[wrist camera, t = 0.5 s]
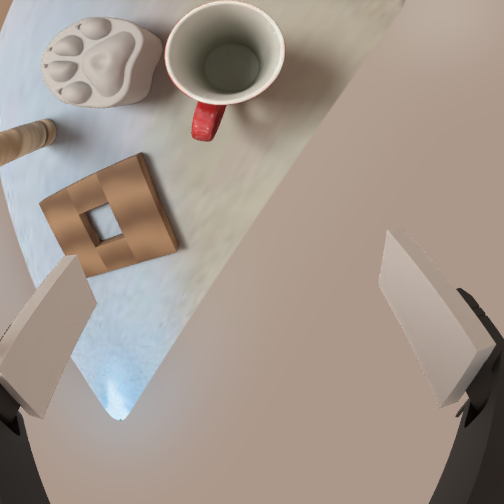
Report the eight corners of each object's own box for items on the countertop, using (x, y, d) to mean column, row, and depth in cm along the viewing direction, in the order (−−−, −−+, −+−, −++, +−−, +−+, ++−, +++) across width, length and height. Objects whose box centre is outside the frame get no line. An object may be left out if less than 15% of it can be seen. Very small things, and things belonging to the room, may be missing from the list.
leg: (33, 126, 31) (-34, 150, 19) (51, 113, 31) (-17, 133, 18) (41, 150, 33) (-23, 181, 21) (59, 138, 33) (-7, 166, 20)
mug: (208, 24, 27) (187, -11, 15) (281, 46, 28) (302, 20, 17) (174, 118, 33) (137, 132, 21) (245, 139, 34) (245, 164, 23)
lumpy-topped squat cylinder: (144, 110, 32) (116, 116, 24) (62, 95, 30) (23, 101, 22) (169, 33, 27) (148, 18, 20) (82, 24, 25) (47, 14, 17)
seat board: (45, 198, 37) (38, 203, 35) (141, 152, 35) (135, 155, 33) (84, 273, 44) (79, 280, 42) (179, 244, 41) (176, 252, 40)
